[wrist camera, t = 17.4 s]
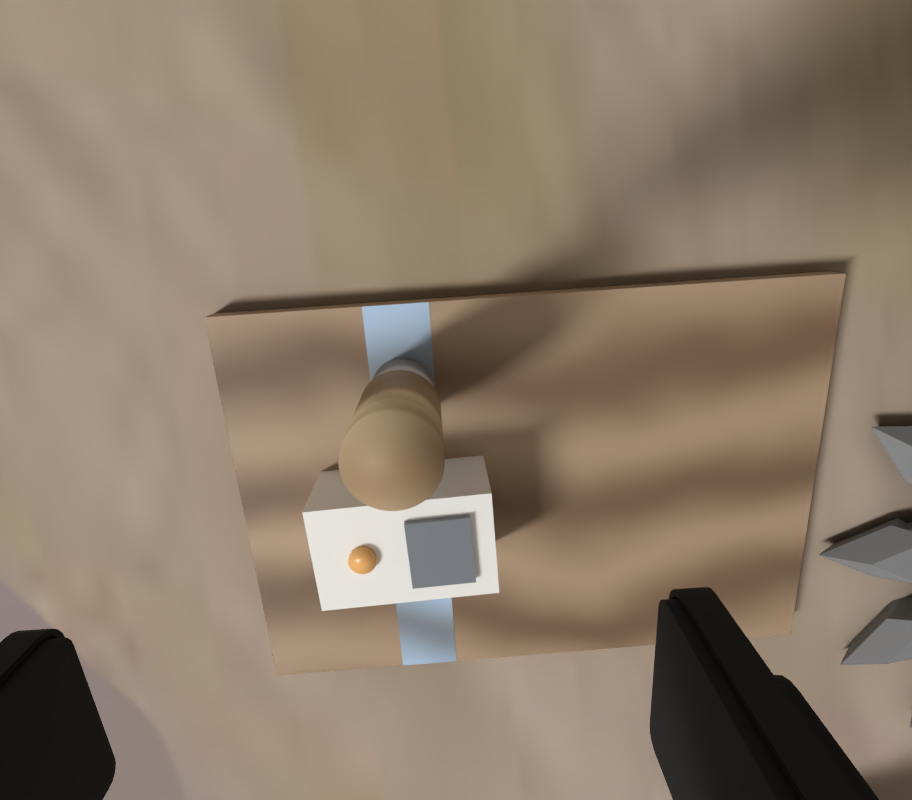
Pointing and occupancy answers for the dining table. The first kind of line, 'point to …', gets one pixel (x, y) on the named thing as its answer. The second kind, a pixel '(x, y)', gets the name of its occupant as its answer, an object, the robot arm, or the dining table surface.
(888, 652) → the decorative piece
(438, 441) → the awl
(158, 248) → the dining table surface
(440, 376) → the floor panel
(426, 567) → the block
